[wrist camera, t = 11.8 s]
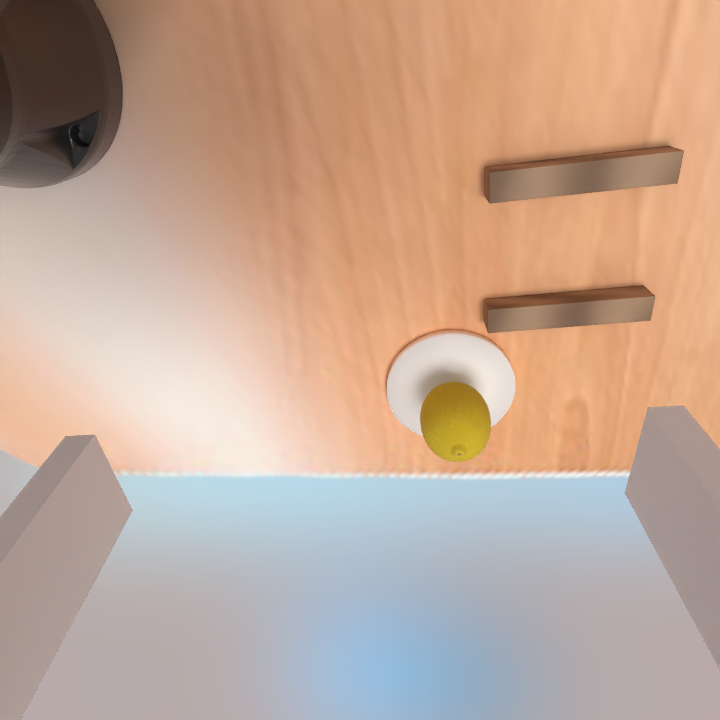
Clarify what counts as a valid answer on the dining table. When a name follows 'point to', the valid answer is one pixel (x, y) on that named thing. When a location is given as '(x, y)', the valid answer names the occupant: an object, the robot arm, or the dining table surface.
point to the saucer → (449, 373)
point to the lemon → (455, 421)
